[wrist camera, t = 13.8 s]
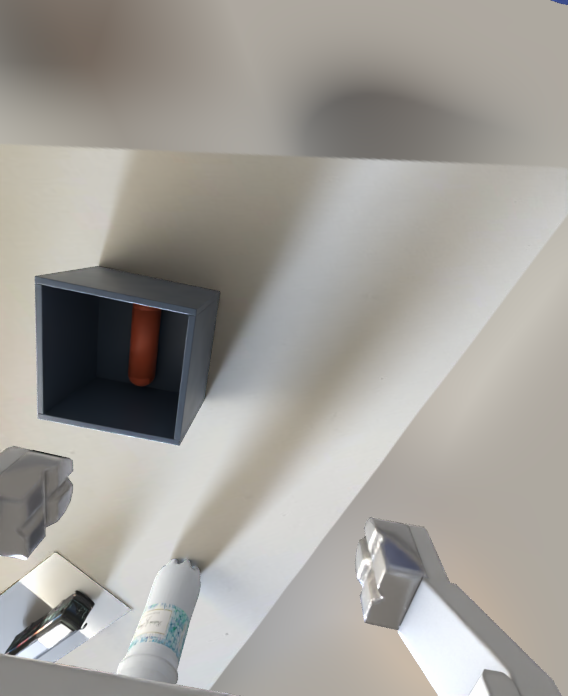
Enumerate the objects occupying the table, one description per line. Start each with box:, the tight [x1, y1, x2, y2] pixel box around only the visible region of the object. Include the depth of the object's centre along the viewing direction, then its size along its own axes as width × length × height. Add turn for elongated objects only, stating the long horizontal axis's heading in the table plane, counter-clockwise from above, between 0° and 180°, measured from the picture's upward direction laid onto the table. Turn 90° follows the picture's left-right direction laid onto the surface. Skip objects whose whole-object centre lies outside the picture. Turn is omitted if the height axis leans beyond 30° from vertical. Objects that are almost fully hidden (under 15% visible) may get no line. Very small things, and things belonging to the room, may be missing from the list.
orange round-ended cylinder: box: [128, 303, 162, 386], centre depth 38 cm, size 10×3×3 cm, turn 169°
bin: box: [35, 266, 220, 446], centre depth 35 cm, size 13×13×10 cm
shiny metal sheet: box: [0, 552, 131, 663], centre depth 52 cm, size 14×25×4 cm, turn 131°
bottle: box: [116, 559, 201, 684], centre depth 41 cm, size 7×7×20 cm
